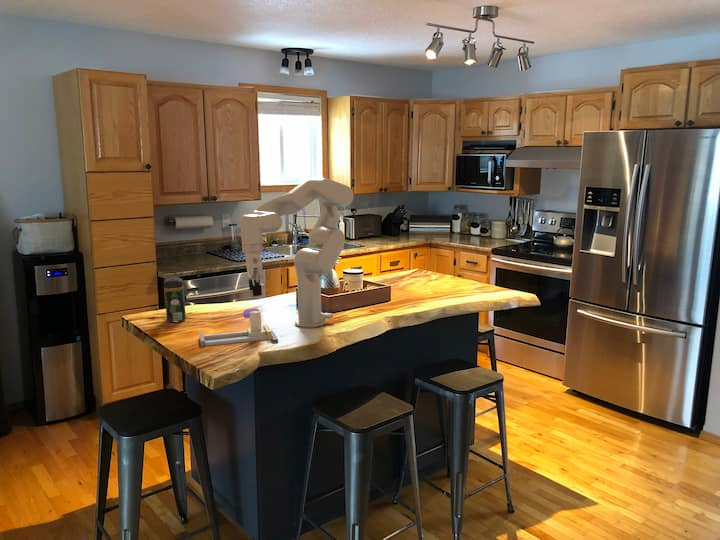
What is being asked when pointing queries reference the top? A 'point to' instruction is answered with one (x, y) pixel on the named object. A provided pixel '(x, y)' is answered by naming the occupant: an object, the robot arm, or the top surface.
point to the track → (235, 338)
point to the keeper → (255, 325)
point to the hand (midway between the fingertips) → (255, 292)
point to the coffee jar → (174, 299)
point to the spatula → (247, 312)
